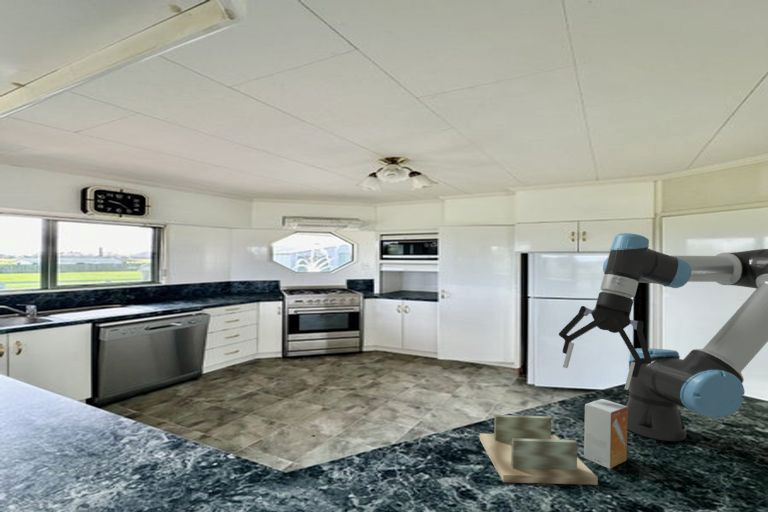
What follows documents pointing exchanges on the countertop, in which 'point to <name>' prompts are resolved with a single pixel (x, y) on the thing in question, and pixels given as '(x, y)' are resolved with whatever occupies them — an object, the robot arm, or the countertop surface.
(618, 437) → the small box
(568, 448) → the bookend shelf
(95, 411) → the countertop surface
